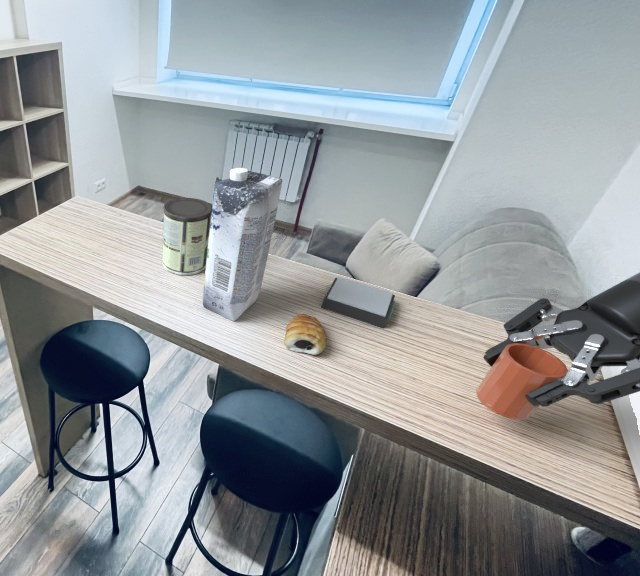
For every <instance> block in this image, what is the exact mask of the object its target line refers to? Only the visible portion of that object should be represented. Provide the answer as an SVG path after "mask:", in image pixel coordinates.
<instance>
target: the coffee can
mask: <svg viewBox="0 0 640 576" xmlns="http://www.w3.org/2000/svg"><path fill="white" fill-rule="evenodd" d="M212 207H213V205H211V204H210V203H209V202H208V201H206V200H202V199H199V198H195V197H194V198H193V197H178V198H173V199H171V200H168V201H166V202H165V203H164V205H163V207H162V208H163V210H162V211H163V230H162V233H163V234H162V262H161V265H162V267H163V268H164V269H165V271H167V272H168V273H172V274H175V275H178V276H192V275H197V274H199V273H201V272H203V271H204V270H206V262H207V252H208V243H209V234H210V225H211V216H212Z"/></svg>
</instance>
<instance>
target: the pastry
mask: <svg viewBox="0 0 640 576" xmlns="http://www.w3.org/2000/svg"><path fill="white" fill-rule="evenodd" d="M283 345H284V346H285V348H286V349H287V350H288V351H290V352H296V353H302V354H303V353H305V354H308V355H313V356H317V355H319V354H321V353H323V352H324V350H326V347H327V335H326V332H325V330H324V327H323V326H322V324H321V322H320V321H319V320H318V318H317V317H314V316H311V315H308V314H306V313H301V314H297V315H296V316H293V317H292V319H291V320H290V322H289V323H288V324H287V326H286V327H285V336H284V340H283Z"/></svg>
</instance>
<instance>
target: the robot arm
mask: <svg viewBox="0 0 640 576" xmlns="http://www.w3.org/2000/svg"><path fill="white" fill-rule="evenodd" d="M554 319H555V321H554V323H553V324H551V325H550V324H549V325H543V326H539V325H540V324H541V323H542V322H550V321H551V320H554ZM537 326H538V327H537ZM503 329H504V330H505V332H506V334H507V338H506V339H505V340H503V341H501V342H499V343H498V344H495V345H493V346H492V347H490V348H488V349H486V351H485V352H484V355H483V357H482V358H483V360H484V361H485V362H486V364H488V365H489V366H490V368H491V367H492V366H493V364H494V363H495V362H496V360H497V359H498V357H499V356H500V354H501V353H502V351H503V350H504V348H505V347H506V346H507V345H508V344H512V343H522V344H528V345H532V346H536V347H538V348H541V349H543V350H547V349H548V350H549V349H553V348H554V349H555V350H556V351H558V352H559V353H562V354H563V355H566V356H567V357H568V358H569V360H571V365H570V366H571V367H570V369H569V370H568V372H567V374H566V376H565V377H564V378H563V379H562V381H559V380H555V381H553V382H550V383H548V384H546V385H544V386H542V387H540V388H538V389H536V390H534V391H532V392H530V393H528V394H526V396H525V397H526V399H527V400H528V401H529V402H530V403H531V404H532V405H533V406H538V405H540V407H543V408H544V407H549V406H551V405H553V404H556V403H559V402H561V401H563V400H565V399H567V398H568V397H571V396H578V397H581V398H584V399H586V400H588V402H590V403H591V404H594V405H602V404H605V403H607V402H611V401H613V400H617V399H620V398H623V397H627V396H631V395H632V394H635V393H639V392H640V271H639V272H637V273H636V274H635V273H634V275H631V276H630V277H628V278H626V279H624V280H622V281H620V282H619V283H617V284H615V285H613V286H611V287H609V288H608V289H606V290H604V291H602V292H600V293H598V294H597V295H594V296H593V297H590V298H589V299H587V300H586V301H584V302H583V303H582V304H580V306H578V307H576V308H572V309H565V310H563V309H561V308H559V307H557V306H555V305H553V304H552V303H551V301H550V300H549V298H539V299H538V300H536V301H535V302H533V303H532V304H531V305H529V306H528V307H526V308H525V309H524V310H522V311H520V312H519V313H518V314H516V315H515V316H514V317H512V318H510V319H509V320H508V321H506V322H505V323H503ZM603 367H623V368H622V369H621V370H620V374H617V375H614V376H611V377H607V378H605V379H602V380H599V381H596V382H594V383H591V384H590V382H593V381H594V380H595V378H596V377H597V376H598V374H599V372H600V371H601V370H602V368H603ZM624 367H625V368H624Z"/></svg>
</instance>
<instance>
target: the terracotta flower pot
mask: <svg viewBox="0 0 640 576" xmlns="http://www.w3.org/2000/svg"><path fill="white" fill-rule="evenodd" d="M568 372H569V370H568V367H567V365H566V363H565V362H563V361H562V360H561V359H560V358H559V357H558V356H556V355H555V354H553V353H551V352H549V351H548V350H546V349H541V348H538V347H536V346H532V345H528V344H522V343H512V344H508V345H507V346H506V347H505V348H504V350H503V351H502V353H501V354H500V356H499V357H498V359H497V360H496V362H495V363H494V364H493V366H492V367H491V366H490V369H489V370H488V372H487V373H486V374H485V376H484V377H483V379H482V381H481V382H480V384H479V385H478V386H477V388H476V390H475V392H476V393H475V395H476V397H477V400H478V401H479V402H480V403H481V404H482V405H483V406H484V407H486V408H487V409H488V410H490V411H491V412H493V413H495V414H496V415H499V416H500V417H503V418H506V419H510V420H514V421H525V420H528V419H529V418H531V416H533V415H534V414H535V413H536V412H537V410H538V409H539V408H540V407H541V405H538V406H533V405H532V404H531V403H530V402H529V401H528V400H527V399H526V397H525V396H526V394H528V393H530V392H532V391H534V390H536V389H538V388H540V387H542V386H544V385H546V384H548V383H550V382H553V381H555V380H559V381H562V380H563V379H564V377H565V376H566V374H567V373H568Z"/></svg>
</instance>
